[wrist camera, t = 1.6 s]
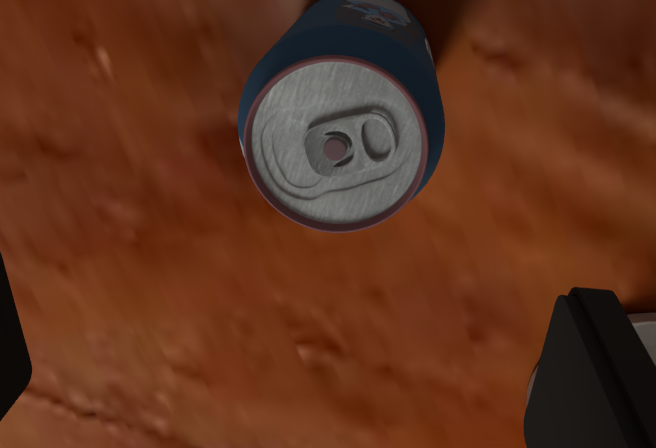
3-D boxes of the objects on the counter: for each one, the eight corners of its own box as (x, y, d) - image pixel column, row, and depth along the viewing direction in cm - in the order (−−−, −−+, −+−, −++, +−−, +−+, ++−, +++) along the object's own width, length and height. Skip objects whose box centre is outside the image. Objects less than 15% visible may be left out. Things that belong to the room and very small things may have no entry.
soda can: (311, 144, 31) (264, 266, 20) (269, 9, 28) (189, 69, 17) (443, 113, 29) (467, 227, 19) (414, -33, 26) (423, 5, 16)
